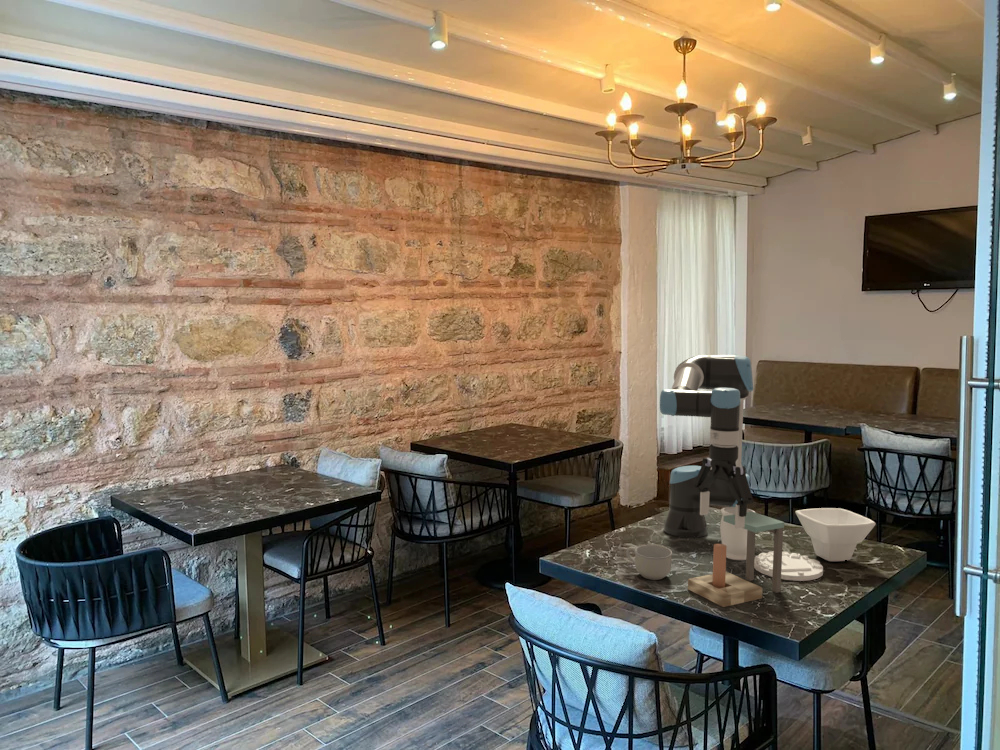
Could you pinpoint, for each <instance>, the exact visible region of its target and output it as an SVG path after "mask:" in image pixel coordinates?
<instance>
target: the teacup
mask: <svg viewBox="0 0 1000 750" xmlns="http://www.w3.org/2000/svg"><path fill="white" fill-rule="evenodd" d="M631 551H633V553H634V555H635V558H634V557H633V556H632V555H631ZM625 553H626V554H625V555H626V557H627V559H628V560H629V561H630V562H631V563H633V565H634V566H635V569H636V572H637V573H638V574H639V575H640V576H642V577H643V578H644V579H648V580H653V581H654V580H655V581H657V580H658V581H659V580H662V579H664V578H665V577H666V576H668V575H669V574H670V573H671V570H672V560H673V559H672V558H673V557H672V556H673V551H672V549H670V548H669V547H666V546H663V545H660V544H653V543H652V544H650V543H649V544H643V545H639V546H637V547H635V546H629V547H627V549H626V550H625Z"/></svg>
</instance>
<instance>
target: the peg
mask: <svg viewBox="0 0 1000 750" xmlns="http://www.w3.org/2000/svg"><path fill="white" fill-rule="evenodd" d="M726 550H727V546H726V545H724V544H722V543H714V544H713V554H712V555H713V556H712V558H713V560H712V574H713V582H712V586H714V587H716V588H718V589H720V588H724V587H725V578H726V572H727V558H726Z"/></svg>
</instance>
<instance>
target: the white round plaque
mask: <svg viewBox="0 0 1000 750" xmlns="http://www.w3.org/2000/svg"><path fill="white" fill-rule="evenodd" d="M773 553H774V550H773V551H772V550H771V551H768V552H761V553H759V554H758V555H755V559H754V570H755V571H757V572H759V573H761V574H762V575H766V576H768V577H771V578H772V577H773ZM823 574H824V566H823V565H822V564H821V562H820V561H819V560H817V559H814V558H809V556H808V555H801V553H796V552H791V553H789V552H788V551H782V569H781V580H786V581H795V582H796V581H798V582H801V581H803V582H804V581H813V580H816V579H819V578H821V577H822V576H823Z"/></svg>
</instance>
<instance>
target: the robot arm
mask: <svg viewBox="0 0 1000 750" xmlns="http://www.w3.org/2000/svg"><path fill="white" fill-rule="evenodd" d="M752 369H753V368H752V361H751V359H750V358H749V357H748V356H745V355H737V354H699V355H698V354H697V355H695V356H692V357H689V358H688V359H687V358H686V359H685V360H682V362H681V363H679V364H678V365H677V367H676V368H675V371H674V373H673V384H672V387H671V388H666V389H662V390H661V391H660V397H659V411H660V413H661V414H662V415H667V416H671V417H674V416H676V417H698V418H700V417H702V418H710V427H709V429H710V432H709V433H710V434H709V443H710V445H709V453H708V455H709V457H704V458H702V462H701V465H683V466H678V467H675V468H673V469H672V470H671V472H670V476H669V477H670V480H669V508H668V509H669V510H668V512H667V515H666V518H665V520H664V523H663V531H664V532H665V533H666V534H669V535H670V536H671V535H672V536H674V537H680V538H687V539H688V538H702V537H704V536H707V534H708V528H709V527H708V525H707V521H706V519H705V516H706V515H710V506H715V507H716V506H719V507H725V508H726V507H736V509H735V528H736V529H738V528H744V527H745V516H746V514H747V513H746V512H747V509H748V508H747V507H748V505H750V504H754V497H753V495H752V492H751V488H750V478H751V477H750V474H748V473H746V471H747V470H746V467H745V466H743V465H742V453H743V451H742V450H743V428H744V427H743V426H744V423H743V422H744V401H745V400H746V399H747V398H748V397H749V392H753V391H754V382H753V381H754V379H753V378H754V377H753V370H752Z"/></svg>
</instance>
